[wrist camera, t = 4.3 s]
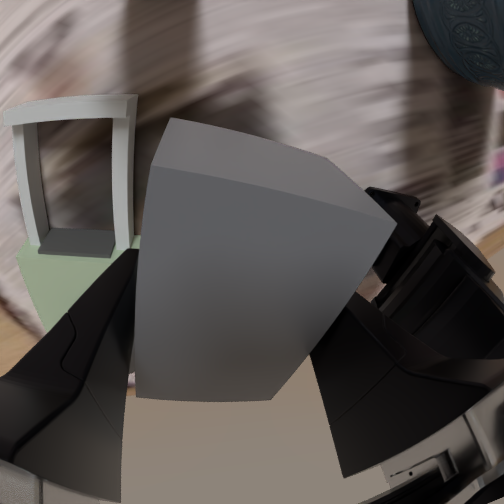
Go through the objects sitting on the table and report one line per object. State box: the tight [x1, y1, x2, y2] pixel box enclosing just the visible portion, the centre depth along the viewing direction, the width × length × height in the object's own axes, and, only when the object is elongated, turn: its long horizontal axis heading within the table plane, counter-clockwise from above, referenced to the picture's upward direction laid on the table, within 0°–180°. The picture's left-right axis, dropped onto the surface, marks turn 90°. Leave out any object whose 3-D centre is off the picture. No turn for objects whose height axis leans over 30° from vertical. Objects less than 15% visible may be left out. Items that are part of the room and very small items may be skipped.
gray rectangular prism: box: [135, 118, 397, 402], centre depth 9 cm, size 5×8×4 cm, turn 162°
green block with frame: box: [3, 94, 141, 374], centre depth 19 cm, size 14×24×6 cm, turn 169°
